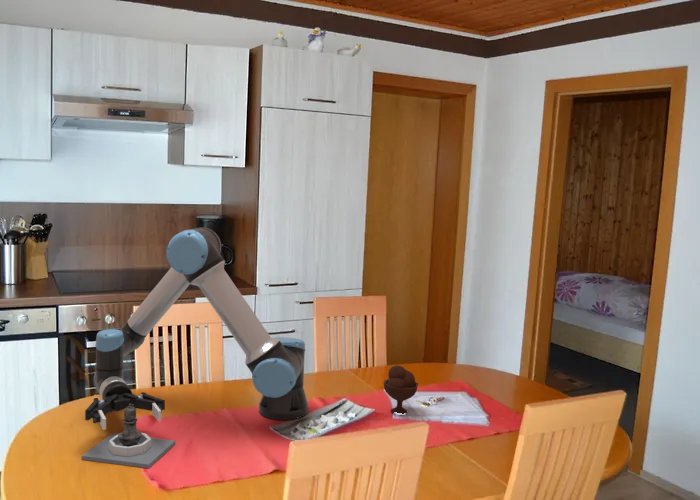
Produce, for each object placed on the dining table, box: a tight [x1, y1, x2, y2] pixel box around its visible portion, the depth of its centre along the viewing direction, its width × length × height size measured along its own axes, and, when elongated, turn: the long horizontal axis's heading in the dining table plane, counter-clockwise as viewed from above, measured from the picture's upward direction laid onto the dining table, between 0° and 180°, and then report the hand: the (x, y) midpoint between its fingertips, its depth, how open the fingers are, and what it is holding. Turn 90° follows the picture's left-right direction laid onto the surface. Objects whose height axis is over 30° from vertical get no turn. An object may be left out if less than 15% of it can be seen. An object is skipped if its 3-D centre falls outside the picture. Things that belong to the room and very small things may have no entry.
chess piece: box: [117, 403, 143, 447], centre depth 170 cm, size 6×6×12 cm
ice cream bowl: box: [383, 364, 419, 415], centre depth 207 cm, size 11×11×15 cm
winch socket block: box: [81, 432, 176, 469], centre depth 170 cm, size 18×15×3 cm
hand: (132, 420), depth 167 cm, fingers open, 13 cm apart
